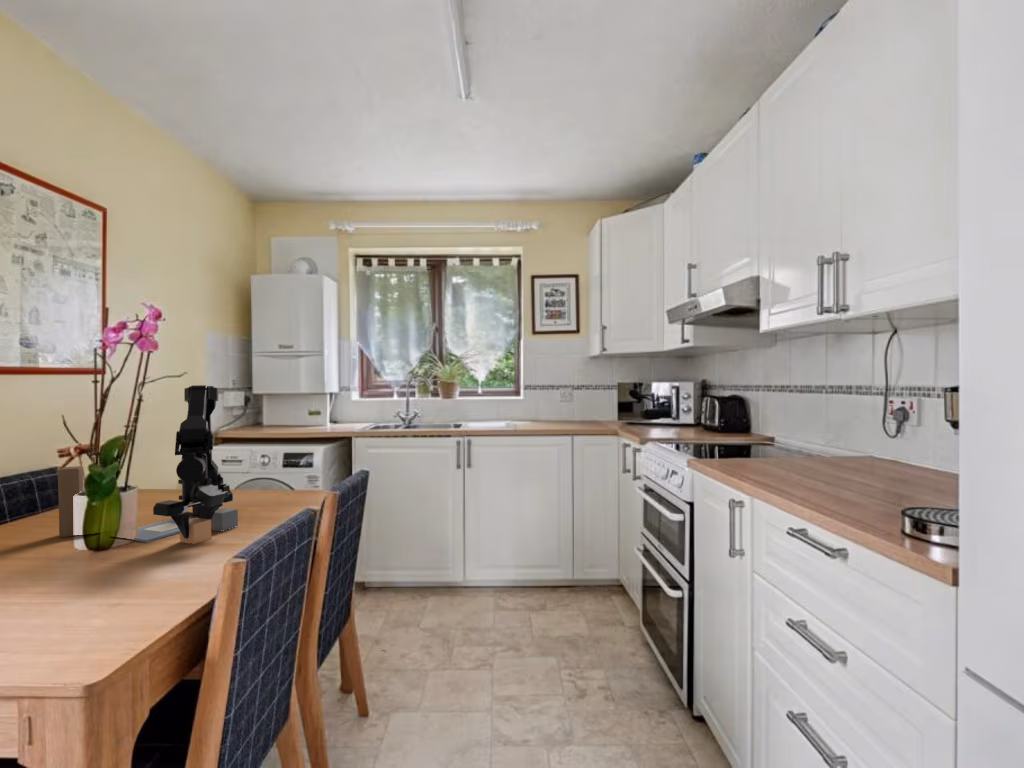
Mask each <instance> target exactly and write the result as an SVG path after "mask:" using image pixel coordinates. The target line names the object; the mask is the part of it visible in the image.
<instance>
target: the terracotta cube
mask: <svg viewBox="0 0 1024 768" xmlns="http://www.w3.org/2000/svg"><path fill="white" fill-rule="evenodd" d="M193 518H194V519H191V520H189V536H188V538H187V539H186V538H184V537H183V535H182V533H181V532H180V533H179V542H180V543H184V542H185V543H186V544H190V543H192V544H191V545H196V544H198V542H199V543H202V542H204V541H205V542H206V541H208V539H209V540H211V539H212V530H211V519H203V518H200V517H193ZM201 541H202V542H201ZM195 543H196V544H195Z"/></svg>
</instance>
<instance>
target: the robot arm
mask: <svg viewBox="0 0 1024 768" xmlns="http://www.w3.org/2000/svg"><path fill="white" fill-rule="evenodd" d="M183 391H184V396H183V397H184V399H183V400H184V402H185V403H187V413H186V414H187V416H186V419H185V420H183V421H182V422H180V426H179V431H178V430H177V431H176V435H175V446H174V456H181V461H179V462H178V464H177V466H176V475H177V477H178V478H179V479H178V480H177V481H178V485H181V495H178V500H179V501H178V500H172V499H171V500H170V499H169V500H163V501H159V502H156V503H155V504H154V506H153V507H152V509H153V511H152V513H153V516H154V515H155V516H161V517H163V516H164V517H170V519H173V520H174V522H175V523H176V525H177V526H178V528H179V530H180V532H181V533H182V535H183V537H184V538H186V539H187V538H188V536H189V518H191V516H199V518H203V519H211V520H212V517H213V515H214V513H215V511H216V510H218V509H220V508H221V507H223V505H224V503H228V502H229V503H230V502H233V501H234V496H233V495H234V494H233V493H232V491H231V489H230V484H228V483H225V482H224V477H222V474H221V473H219V467H218V464H216V462H215V461H214V459H213V450H214V434H213V432H212V418H211V417H212V414H213V412H214V411H215V409H216V406H217V402H219V390H218V387H215V386H214V385H203V384H202V385H201V384H199V385H196V384H195V385H194V384H193V385H191V386H188V387H185V388H184V390H183ZM189 508H192V509H191V510H192V512H191V511H189Z"/></svg>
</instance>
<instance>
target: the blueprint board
mask: <svg viewBox="0 0 1024 768" xmlns="http://www.w3.org/2000/svg"><path fill="white" fill-rule="evenodd" d="M194 518H195V517H189V520H191V519H194ZM177 533H178V534H180V530H179V528H178V526H177V525H176V523H175V522H174V520H173V519H172V518H170V519H165V520H161V521H157V522H153V523H150V524H146V525H142V526H138V532H137V536H136V537H135V538H134V540H135V542H142V543H149V542H153V541H156V540H159V539H160V540H161V539H163V538H167V537H171V536H175V535H178V534H177ZM134 540H133V541H134Z"/></svg>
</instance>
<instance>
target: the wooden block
mask: <svg viewBox="0 0 1024 768" xmlns="http://www.w3.org/2000/svg"><path fill="white" fill-rule="evenodd" d="M57 486H58V487H57V488H58V489H57V490H58V491H57V492H58V533H59V534H58V535H59V538H60V539H61V538H71V537H74V536H73V496H74V495H75V494H77V493H79V492H80V491H83V492H84V467H83V466H81V465H79V466H64V467H61V468H59V469H58V470H57Z"/></svg>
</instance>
